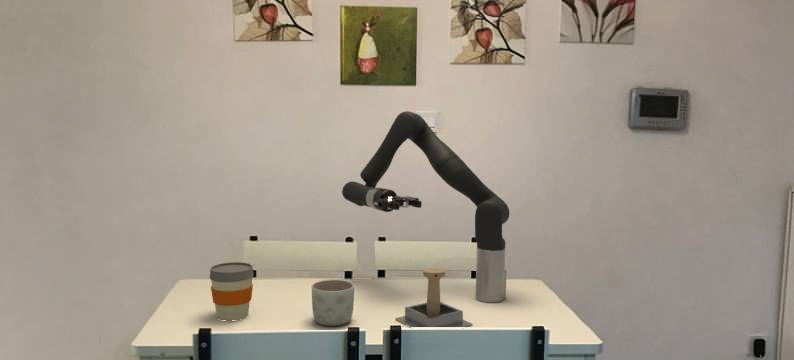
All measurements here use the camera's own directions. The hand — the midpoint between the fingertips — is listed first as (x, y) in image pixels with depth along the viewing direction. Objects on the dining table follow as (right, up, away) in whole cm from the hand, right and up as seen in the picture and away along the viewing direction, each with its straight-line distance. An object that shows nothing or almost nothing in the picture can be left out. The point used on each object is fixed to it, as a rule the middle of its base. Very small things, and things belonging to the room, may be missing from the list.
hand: (409, 205), depth 185 cm
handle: (+7, -33, -14) cm, 37 cm away
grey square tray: (+7, -34, -14) cm, 37 cm away
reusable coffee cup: (-53, -33, -10) cm, 63 cm away
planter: (-23, -34, -13) cm, 43 cm away
